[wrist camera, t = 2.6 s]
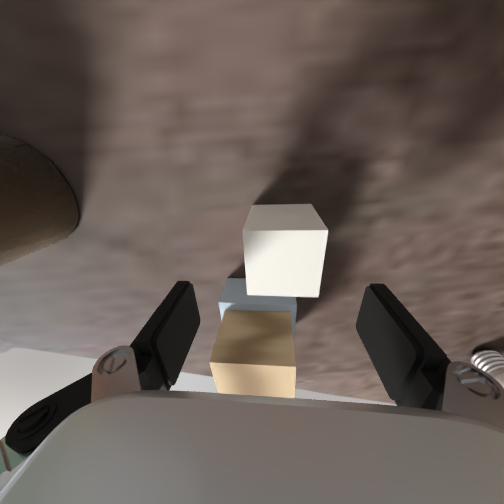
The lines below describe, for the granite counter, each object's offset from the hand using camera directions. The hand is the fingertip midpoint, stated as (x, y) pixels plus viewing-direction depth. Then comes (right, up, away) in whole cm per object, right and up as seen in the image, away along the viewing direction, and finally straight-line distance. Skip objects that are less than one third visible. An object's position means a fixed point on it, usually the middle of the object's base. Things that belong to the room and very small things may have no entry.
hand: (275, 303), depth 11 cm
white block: (+1, +5, +7) cm, 9 cm away
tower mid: (-1, -5, +8) cm, 10 cm away
